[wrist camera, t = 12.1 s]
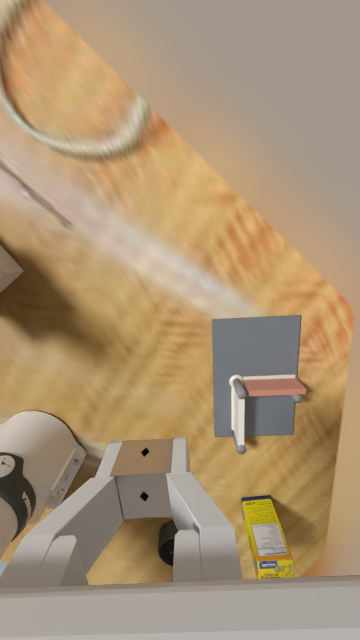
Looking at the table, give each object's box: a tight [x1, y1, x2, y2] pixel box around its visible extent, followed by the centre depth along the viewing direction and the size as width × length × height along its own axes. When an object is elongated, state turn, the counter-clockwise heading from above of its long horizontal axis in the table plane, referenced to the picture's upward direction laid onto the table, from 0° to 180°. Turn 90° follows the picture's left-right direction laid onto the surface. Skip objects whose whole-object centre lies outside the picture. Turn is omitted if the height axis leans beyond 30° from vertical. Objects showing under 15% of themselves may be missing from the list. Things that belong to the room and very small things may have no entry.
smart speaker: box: [158, 521, 178, 566], centre depth 50 cm, size 9×9×4 cm
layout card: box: [212, 315, 301, 437], centre depth 42 cm, size 23×14×1 cm, turn 3°
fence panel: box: [244, 378, 306, 396], centre depth 40 cm, size 9×1×4 cm, turn 93°
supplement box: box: [241, 496, 293, 579], centre depth 44 cm, size 6×6×11 cm
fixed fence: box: [232, 378, 302, 454], centre depth 41 cm, size 12×10×5 cm
